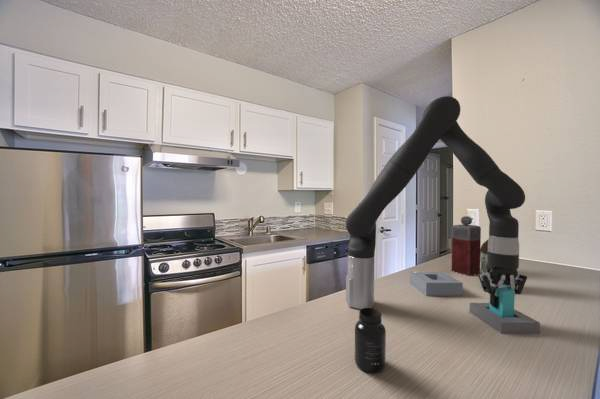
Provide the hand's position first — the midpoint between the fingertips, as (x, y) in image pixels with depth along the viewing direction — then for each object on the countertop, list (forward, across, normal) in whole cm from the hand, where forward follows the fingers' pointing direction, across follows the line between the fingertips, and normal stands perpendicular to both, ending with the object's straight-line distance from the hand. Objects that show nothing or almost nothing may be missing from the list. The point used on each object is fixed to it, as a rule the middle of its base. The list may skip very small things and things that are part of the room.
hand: (501, 306), depth 78 cm
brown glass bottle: (+5, +20, +28) cm, 35 cm away
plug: (+4, 0, 0) cm, 4 cm away
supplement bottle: (+5, -46, -19) cm, 50 cm away
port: (+5, -6, +27) cm, 28 cm away
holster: (+4, 0, 0) cm, 4 cm away
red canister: (+5, +23, +50) cm, 55 cm away
